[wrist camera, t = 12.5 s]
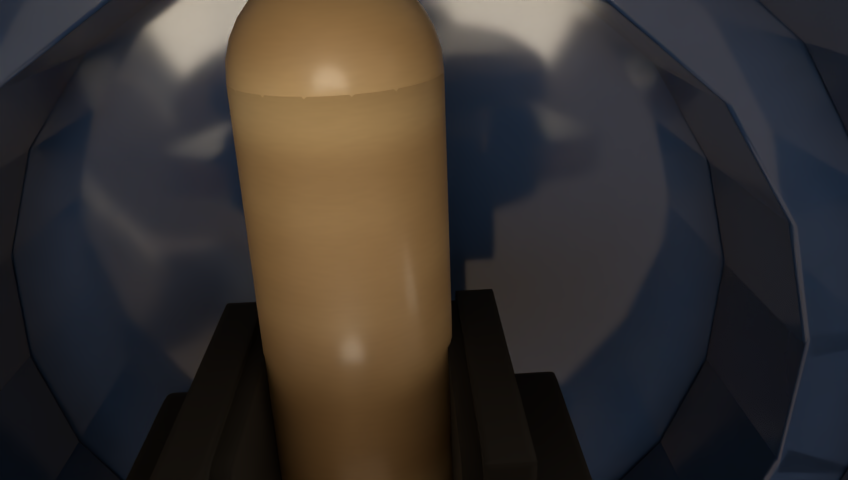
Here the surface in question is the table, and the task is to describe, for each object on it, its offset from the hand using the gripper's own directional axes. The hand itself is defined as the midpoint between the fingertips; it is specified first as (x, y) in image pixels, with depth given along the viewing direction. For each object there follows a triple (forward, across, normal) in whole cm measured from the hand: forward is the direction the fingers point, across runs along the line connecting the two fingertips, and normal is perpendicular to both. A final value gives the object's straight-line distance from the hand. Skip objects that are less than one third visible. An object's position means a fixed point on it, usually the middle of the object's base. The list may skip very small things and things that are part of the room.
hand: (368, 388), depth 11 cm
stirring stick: (0, 0, 0) cm, 0 cm away
